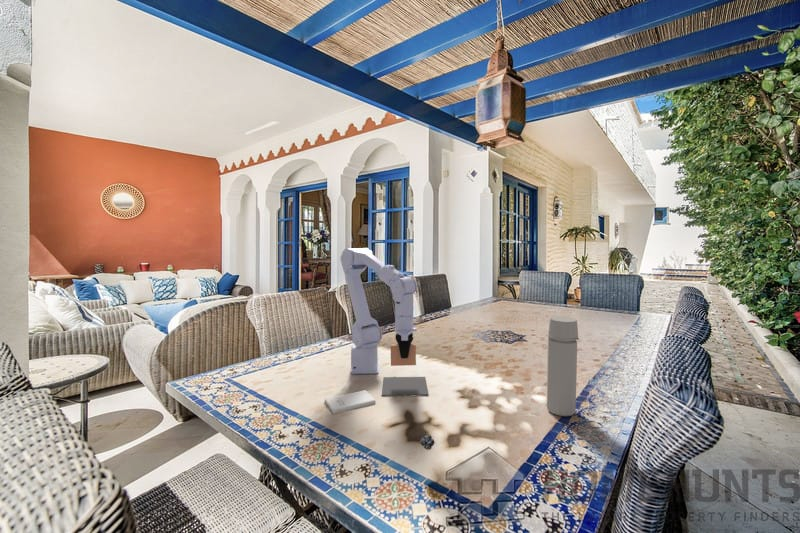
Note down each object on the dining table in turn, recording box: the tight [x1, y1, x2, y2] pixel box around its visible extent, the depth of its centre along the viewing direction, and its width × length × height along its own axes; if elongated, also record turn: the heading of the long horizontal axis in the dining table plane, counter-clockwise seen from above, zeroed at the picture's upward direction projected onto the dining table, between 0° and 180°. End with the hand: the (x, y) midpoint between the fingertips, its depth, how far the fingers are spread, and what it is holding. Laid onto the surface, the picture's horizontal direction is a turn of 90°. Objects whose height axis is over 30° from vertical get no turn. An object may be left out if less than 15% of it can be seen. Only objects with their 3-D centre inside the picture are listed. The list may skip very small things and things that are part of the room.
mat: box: [381, 376, 429, 397], centre depth 114 cm, size 14×14×1 cm
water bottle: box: [546, 316, 580, 417], centre depth 96 cm, size 9×8×25 cm
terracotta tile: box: [390, 343, 417, 367], centre depth 115 cm, size 8×2×6 cm, turn 90°
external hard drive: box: [324, 389, 376, 414], centre depth 103 cm, size 2×8×12 cm
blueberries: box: [419, 433, 442, 450], centre depth 82 cm, size 7×8×2 cm
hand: (404, 356), depth 115 cm, fingers closed on terracotta tile, 2 cm apart
